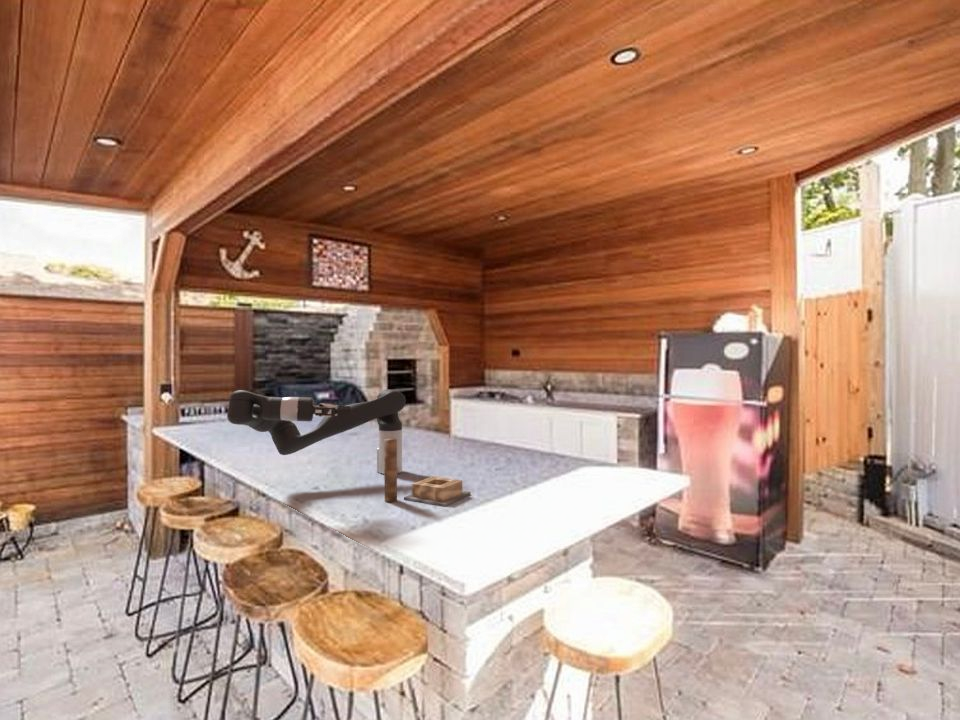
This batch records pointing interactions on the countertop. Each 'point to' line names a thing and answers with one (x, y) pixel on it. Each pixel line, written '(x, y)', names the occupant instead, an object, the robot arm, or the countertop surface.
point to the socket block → (437, 491)
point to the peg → (390, 469)
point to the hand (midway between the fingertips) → (350, 410)
